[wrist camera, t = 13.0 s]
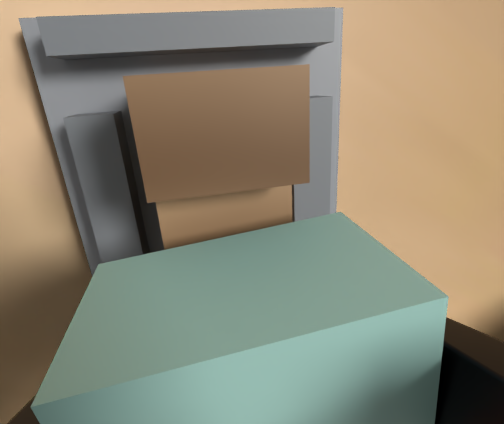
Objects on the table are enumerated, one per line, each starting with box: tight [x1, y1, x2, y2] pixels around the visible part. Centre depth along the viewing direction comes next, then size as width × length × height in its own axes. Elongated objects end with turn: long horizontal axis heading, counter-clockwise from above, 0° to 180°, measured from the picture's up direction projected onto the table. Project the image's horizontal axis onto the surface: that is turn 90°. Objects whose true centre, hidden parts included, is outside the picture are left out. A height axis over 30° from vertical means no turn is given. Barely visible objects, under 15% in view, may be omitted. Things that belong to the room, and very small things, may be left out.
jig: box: [19, 7, 343, 277], centre depth 14 cm, size 16×11×2 cm
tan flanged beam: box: [123, 64, 310, 250], centre depth 12 cm, size 12×4×6 cm, turn 4°
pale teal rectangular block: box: [31, 212, 448, 424], centre depth 8 cm, size 6×4×4 cm, turn 98°
